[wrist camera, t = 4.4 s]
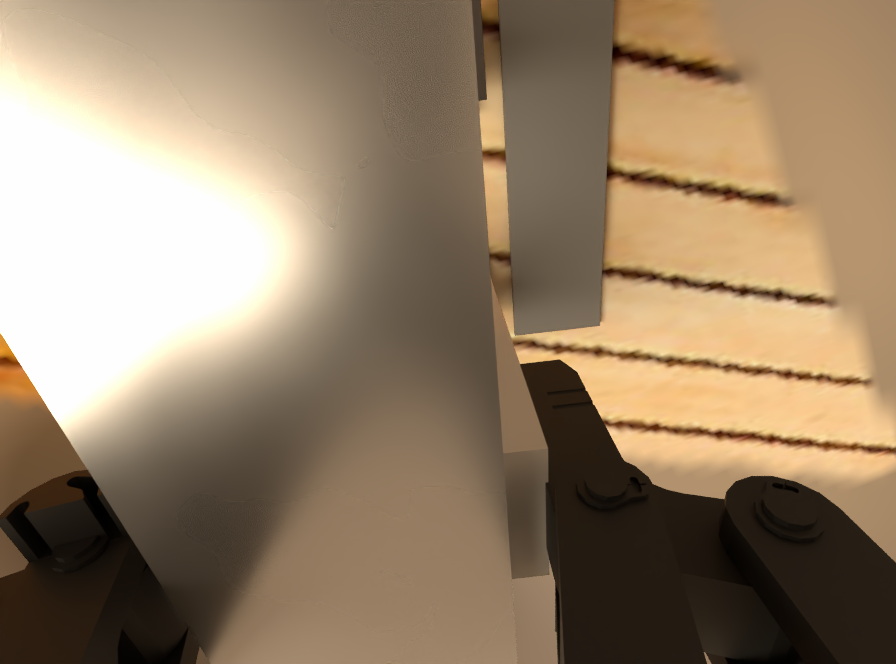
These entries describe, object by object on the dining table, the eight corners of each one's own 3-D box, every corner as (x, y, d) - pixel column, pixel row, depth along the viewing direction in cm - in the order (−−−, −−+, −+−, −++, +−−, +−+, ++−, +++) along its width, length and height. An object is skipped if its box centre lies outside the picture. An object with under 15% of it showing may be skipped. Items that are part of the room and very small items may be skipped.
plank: (497, -6, 24) (498, -7, 24) (612, -20, 24) (615, -22, 24) (514, 332, 34) (515, 335, 33) (597, 323, 33) (599, 325, 33)
